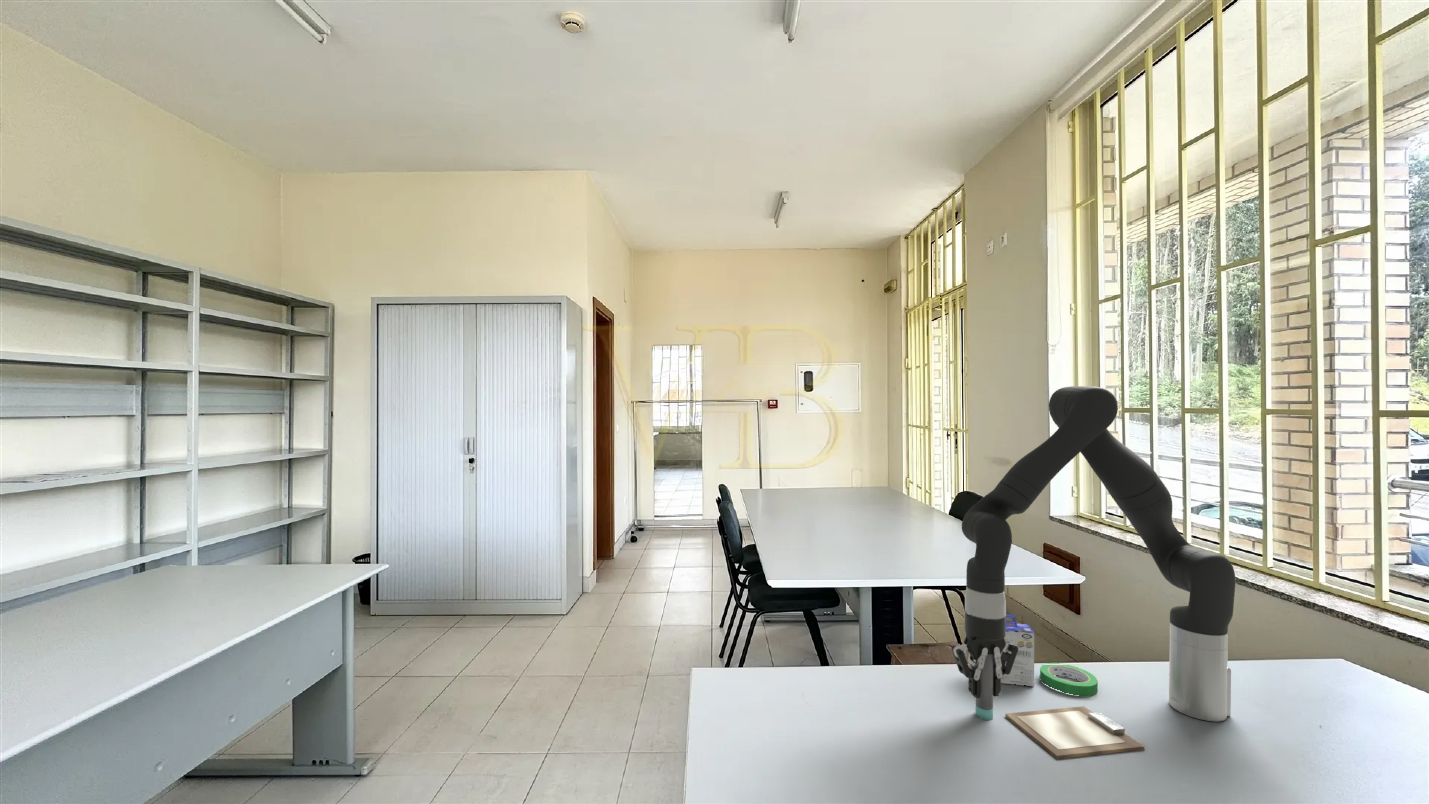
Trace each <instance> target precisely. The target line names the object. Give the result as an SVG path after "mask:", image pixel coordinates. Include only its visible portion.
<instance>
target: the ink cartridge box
mask: <svg viewBox="0 0 1429 804" xmlns="http://www.w3.org/2000/svg"><path fill="white" fill-rule="evenodd" d="M1006 618H1009V619H1012V620H1006V635H1005V637H1004V639H1005V641H1006V642H1007V641H1009V642H1010V643H1012V644H1014V645H1015V646H1017V647H1018V652H1017V655H1016V658H1015V660H1014V663H1013V666H1012V669H1011V672H1010V674H1009V675H1007V674H1004V675H1003V676H1002V678H1001V684H1005V685H1014V684H1016V686H1024V685H1026V686H1025V687H1035V631H1034V630H1033V629H1032V628H1031V627H1030V625H1028V624H1026V623H1025V624H1023V623H1017V620H1016V615H1015V614H1012V613H1006ZM1001 654H1002V652H1001ZM1001 654H1000V657H1001ZM1006 662H1007V661H1006ZM1005 665H1006V664H1005Z"/></svg>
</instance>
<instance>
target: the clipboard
mask: <svg viewBox="0 0 1429 804" xmlns="http://www.w3.org/2000/svg"><path fill="white" fill-rule="evenodd" d="M1004 715H1005V716H1006V717H1007V719H1008V720H1009V719H1010V720H1009V721H1010V722H1011V723H1012V724H1014V725H1015V726H1016V727H1017V728H1018V729H1020V730H1021V731H1022V732H1024V733H1025V735H1027V736H1028V737H1030V738H1031V739H1032V740H1033V741H1034V742H1036V743H1037V744H1038V745H1040V746H1041V747H1042V748H1043V749H1044V750H1045V751H1047V753H1049V754H1051V756H1053V757H1054V758H1055V759H1056V760H1062V759H1070V757H1072V758H1080V757H1089V756H1090V757H1091V756H1097V755H1098V756H1099V755H1107V754H1116V753H1124V752H1125V753H1126V752H1133V751H1143V750H1145V746H1144V744H1142V743H1140V742H1139V741H1137V740H1136V739H1134V738H1133V737H1131V736H1129V734H1126V733H1125V732H1126V731H1125V730H1126V728H1125V727H1124V726H1121V725H1120V724H1118V723H1117V722H1115V721H1114V720H1112V719H1111V718H1109V717H1107V716H1106V715H1104V713H1101V711H1094V712H1093V711H1092V710H1090V709H1089V708H1087V707H1086V706H1084V705H1083V706H1073V707H1072V706H1071V707H1064V708H1063V707H1061V708H1051V709H1042V710H1041V709H1038V710H1029V711H1019V712H1010V713H1005V714H1004ZM1006 717H1005V718H1006Z"/></svg>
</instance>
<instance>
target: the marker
mask: <svg viewBox="0 0 1429 804" xmlns="http://www.w3.org/2000/svg"><path fill="white" fill-rule="evenodd" d="M976 662H977V661H976ZM979 680H980V698H975V716H976V717H978V719H981V720H984V721H991V720H993V718H994V696H993V654H987V656H986V658H985V663H984V667H983V669H982V670H981V673H980V678H979Z"/></svg>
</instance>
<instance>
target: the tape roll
mask: <svg viewBox="0 0 1429 804" xmlns="http://www.w3.org/2000/svg"><path fill="white" fill-rule="evenodd" d="M1046 664H1062V663H1060V662H1059V663H1058V662H1050V663H1049V662H1048V663H1046ZM1039 671H1040V672H1039V680H1040V679H1041V680H1040V682H1041V681H1042V682H1043V683H1044V684H1046V685H1048V686H1049V687H1052V688H1054V689H1057V690H1060V691H1062V692H1064V693H1069V694H1073V695H1079V696H1078V697H1080V696H1088V697H1093V696H1096V693H1097V694H1098V693H1099V692H1098V691H1099V690H1098V687H1099V686H1098V684H1099V682H1098V681H1099V680H1098V678H1097V677H1096V676H1095V675H1094V674H1092V673H1091V672H1089V671H1088V670H1085V669H1083V668H1080V667H1078V666H1075V665H1071V664H1067V665H1044V664H1042V665H1041V666H1040V669H1039ZM1054 675H1059V676H1054ZM1064 676H1068V677H1067V678H1070V679H1074V680H1076V679H1077V681H1076V682H1075V681H1070V680H1066V679H1063V678H1060V677H1064ZM1078 681H1079V682H1078ZM1042 682H1041V683H1042ZM1043 683H1042V684H1043ZM1044 684H1043V685H1044ZM1046 685H1045V686H1046ZM1049 687H1048V688H1049ZM1064 693H1063V694H1064Z"/></svg>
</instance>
